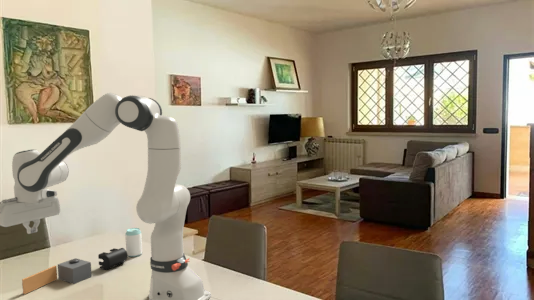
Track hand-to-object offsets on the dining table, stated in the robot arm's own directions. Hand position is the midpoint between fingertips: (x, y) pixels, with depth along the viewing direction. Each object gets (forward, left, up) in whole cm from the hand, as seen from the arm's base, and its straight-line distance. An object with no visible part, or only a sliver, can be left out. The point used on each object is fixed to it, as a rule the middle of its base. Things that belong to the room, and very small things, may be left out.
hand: (32, 232), depth 143 cm
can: (+1, -46, -23) cm, 51 cm away
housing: (+1, -16, -23) cm, 28 cm away
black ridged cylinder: (-2, -32, -23) cm, 39 cm away
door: (+5, -4, -23) cm, 24 cm away
